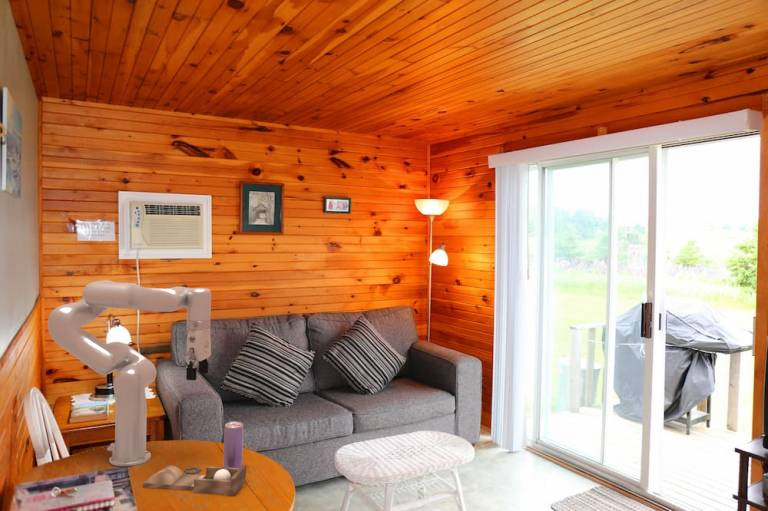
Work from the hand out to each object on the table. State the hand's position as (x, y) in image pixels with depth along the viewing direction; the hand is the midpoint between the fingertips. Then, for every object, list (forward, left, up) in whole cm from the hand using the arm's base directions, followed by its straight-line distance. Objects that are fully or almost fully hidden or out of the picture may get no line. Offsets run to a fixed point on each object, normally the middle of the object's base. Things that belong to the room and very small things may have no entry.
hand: (197, 376), depth 190 cm
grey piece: (+5, -8, -28) cm, 30 cm away
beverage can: (+16, -2, -28) cm, 33 cm away
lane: (+12, -16, -32) cm, 38 cm away
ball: (+19, -14, -28) cm, 36 cm away
